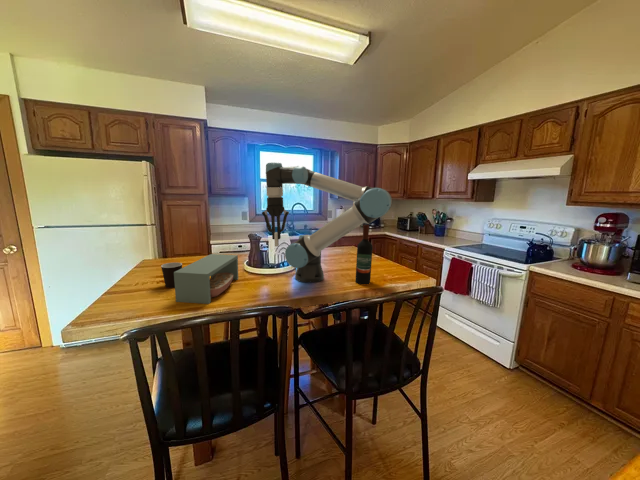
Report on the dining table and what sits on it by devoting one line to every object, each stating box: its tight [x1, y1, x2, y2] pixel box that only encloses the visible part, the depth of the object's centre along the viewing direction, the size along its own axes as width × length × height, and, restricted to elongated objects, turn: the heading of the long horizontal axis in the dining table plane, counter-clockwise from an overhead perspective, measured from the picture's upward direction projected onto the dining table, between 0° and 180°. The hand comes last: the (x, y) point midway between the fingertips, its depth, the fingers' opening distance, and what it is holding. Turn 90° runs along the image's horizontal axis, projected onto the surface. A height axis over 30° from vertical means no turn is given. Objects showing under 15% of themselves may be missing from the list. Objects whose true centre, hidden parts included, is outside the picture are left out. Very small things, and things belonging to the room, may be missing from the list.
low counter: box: [174, 253, 239, 305], centre depth 124 cm, size 14×31×12 cm, turn 175°
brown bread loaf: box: [210, 273, 233, 298], centre depth 123 cm, size 23×10×5 cm, turn 0°
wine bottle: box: [354, 223, 374, 285], centre depth 137 cm, size 8×8×30 cm
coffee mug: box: [160, 262, 183, 289], centre depth 128 cm, size 12×9×10 cm
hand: (276, 245), depth 131 cm, fingers closed
